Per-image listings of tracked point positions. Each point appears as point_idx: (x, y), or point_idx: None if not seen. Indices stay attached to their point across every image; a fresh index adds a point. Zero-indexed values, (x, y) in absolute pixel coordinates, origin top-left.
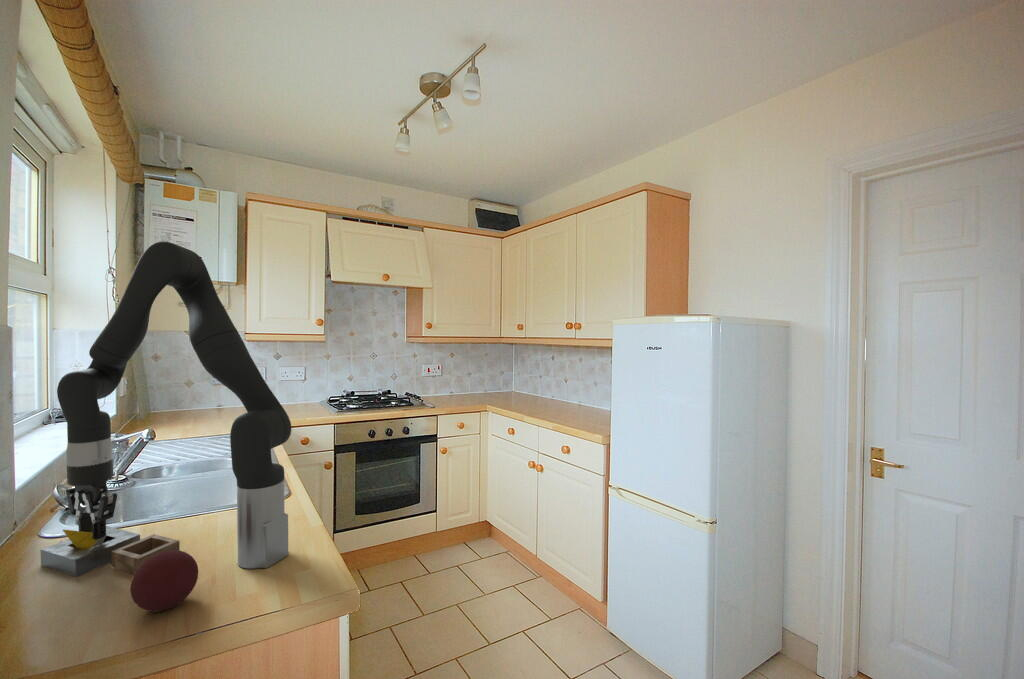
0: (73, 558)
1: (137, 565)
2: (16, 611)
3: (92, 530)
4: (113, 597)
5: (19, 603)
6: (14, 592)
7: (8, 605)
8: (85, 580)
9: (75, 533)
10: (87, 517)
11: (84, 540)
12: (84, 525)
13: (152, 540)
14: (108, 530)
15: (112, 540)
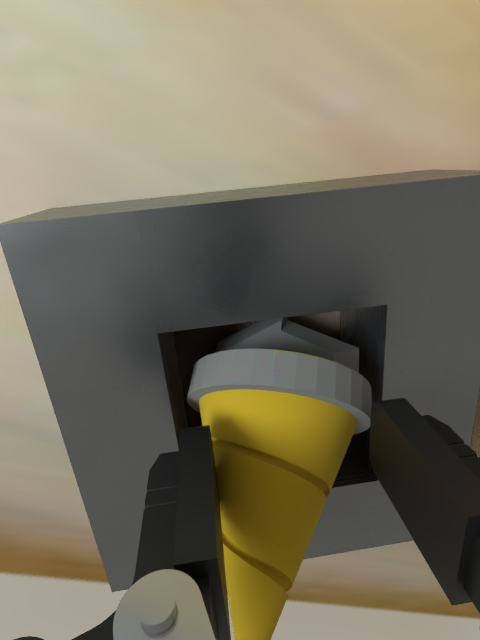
0: None
1: None
2: None
3: (413, 529)
4: None
5: (412, 594)
6: (311, 591)
7: (392, 610)
8: (477, 452)
9: (290, 582)
10: (214, 597)
11: (324, 492)
12: (220, 541)
13: None
14: (151, 267)
15: (402, 338)
